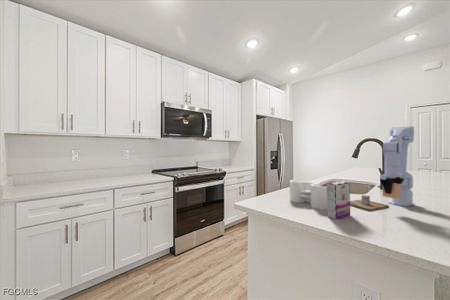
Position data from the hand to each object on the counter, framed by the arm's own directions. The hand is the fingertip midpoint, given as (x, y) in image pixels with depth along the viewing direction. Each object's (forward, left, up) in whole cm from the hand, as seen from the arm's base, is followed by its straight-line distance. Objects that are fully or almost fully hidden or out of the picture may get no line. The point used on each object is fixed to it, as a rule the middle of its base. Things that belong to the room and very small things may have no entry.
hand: (391, 192), depth 101 cm
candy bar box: (+28, -7, -10) cm, 31 cm away
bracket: (+26, -29, -10) cm, 40 cm away
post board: (0, -13, -10) cm, 16 cm away
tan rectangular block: (0, 0, -2) cm, 2 cm away
